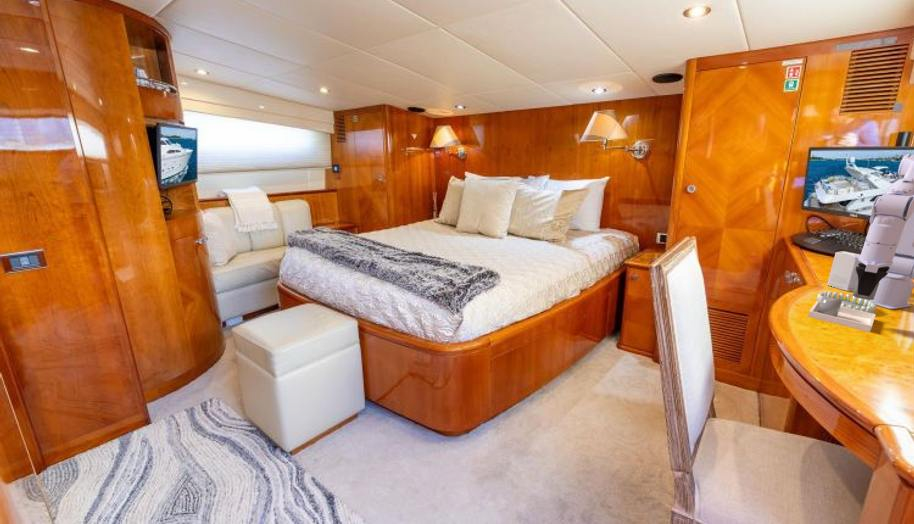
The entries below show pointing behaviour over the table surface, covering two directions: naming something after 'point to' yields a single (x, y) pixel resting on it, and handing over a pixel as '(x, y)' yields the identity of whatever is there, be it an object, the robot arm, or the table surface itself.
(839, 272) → the skincare box
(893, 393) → the table surface
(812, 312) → the parts tray
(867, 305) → the celadon bowl
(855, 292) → the pebble charcoal
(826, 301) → the pebble slate
